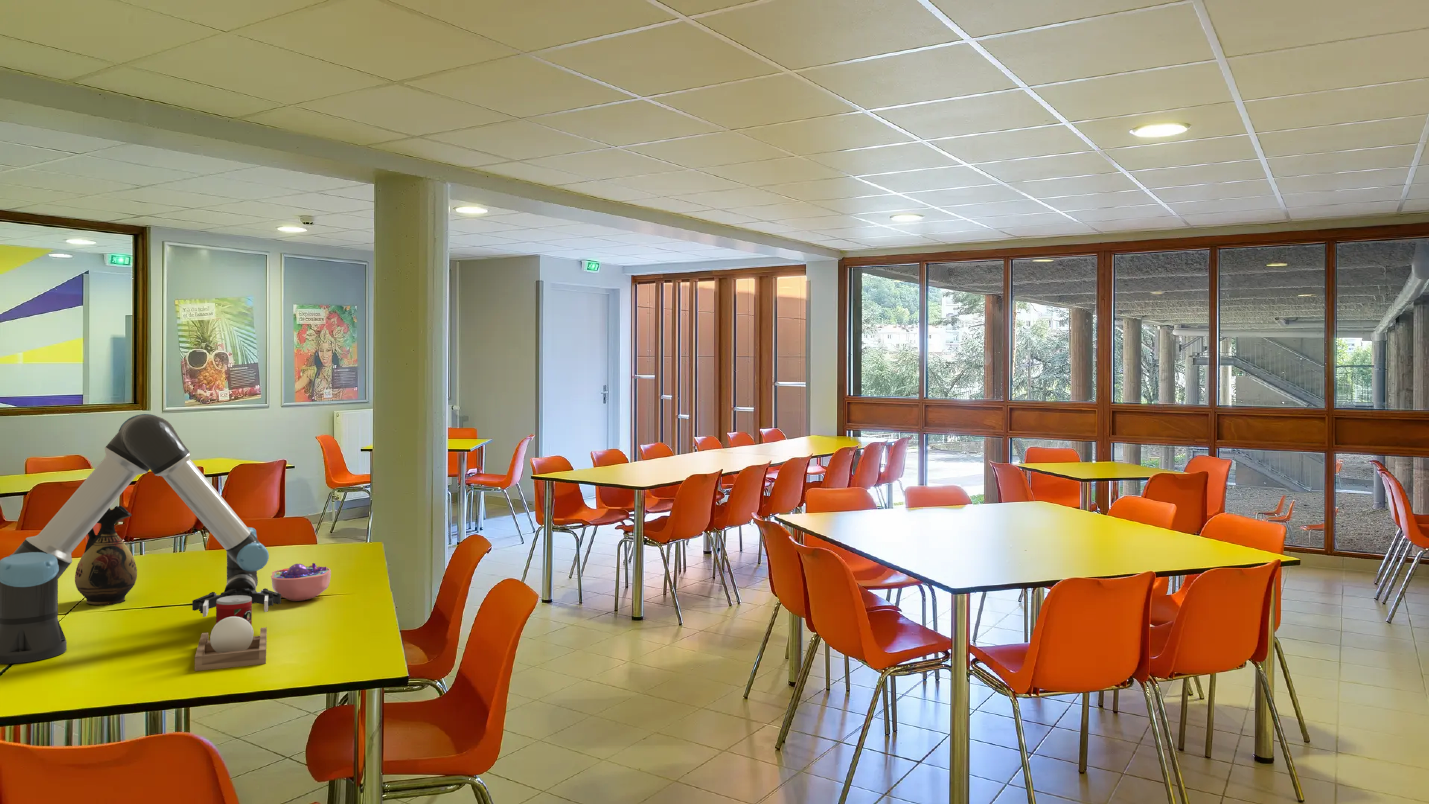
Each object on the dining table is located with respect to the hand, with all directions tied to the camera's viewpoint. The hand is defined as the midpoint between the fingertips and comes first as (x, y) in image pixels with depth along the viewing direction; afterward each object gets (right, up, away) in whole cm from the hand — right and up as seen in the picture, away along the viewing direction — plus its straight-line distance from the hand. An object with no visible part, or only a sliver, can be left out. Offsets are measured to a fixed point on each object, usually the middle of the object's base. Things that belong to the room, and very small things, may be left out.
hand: (235, 608), depth 229 cm
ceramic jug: (-61, -8, +43) cm, 75 cm away
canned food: (+2, -8, -4) cm, 9 cm away
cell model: (-6, -8, +50) cm, 51 cm away
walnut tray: (+4, -9, -9) cm, 13 cm away
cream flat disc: (+6, -8, -14) cm, 17 cm away
